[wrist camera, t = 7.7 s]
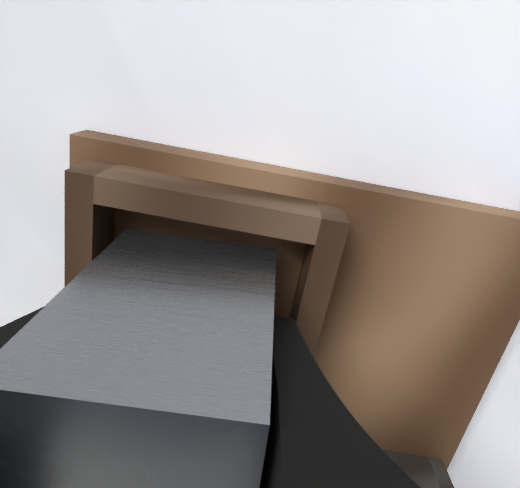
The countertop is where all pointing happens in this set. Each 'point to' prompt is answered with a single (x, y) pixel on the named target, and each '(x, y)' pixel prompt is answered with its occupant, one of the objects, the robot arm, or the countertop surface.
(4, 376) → the block
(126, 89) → the countertop surface
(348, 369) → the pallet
